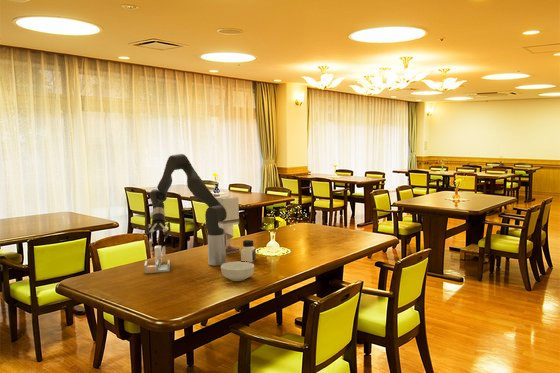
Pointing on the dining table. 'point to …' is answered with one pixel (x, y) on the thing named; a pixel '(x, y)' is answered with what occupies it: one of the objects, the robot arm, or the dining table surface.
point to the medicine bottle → (248, 251)
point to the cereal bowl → (237, 270)
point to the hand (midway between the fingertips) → (158, 238)
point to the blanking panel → (158, 254)
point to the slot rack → (157, 267)
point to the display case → (229, 220)
